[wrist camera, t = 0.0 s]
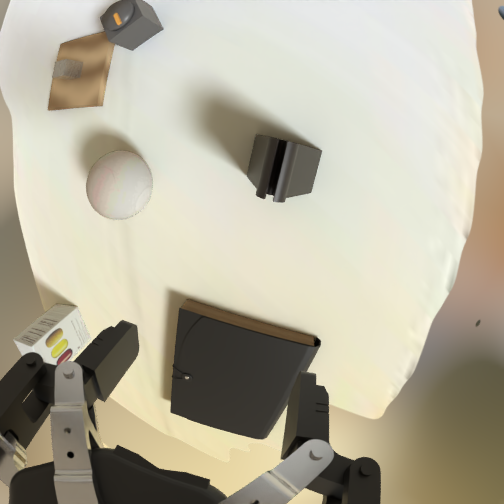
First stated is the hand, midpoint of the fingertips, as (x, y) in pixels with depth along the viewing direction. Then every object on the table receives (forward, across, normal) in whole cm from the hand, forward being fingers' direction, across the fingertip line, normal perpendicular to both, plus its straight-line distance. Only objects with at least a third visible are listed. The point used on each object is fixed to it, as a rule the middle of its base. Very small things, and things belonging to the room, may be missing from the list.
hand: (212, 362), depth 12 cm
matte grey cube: (+28, +38, -20) cm, 51 cm away
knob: (+29, +26, -27) cm, 48 cm away
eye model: (+30, +22, -1) cm, 37 cm away
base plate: (+29, +38, -20) cm, 52 cm away
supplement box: (+30, +42, +35) cm, 62 cm away
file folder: (+30, +1, +35) cm, 46 cm away
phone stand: (+30, 0, -7) cm, 30 cm away
